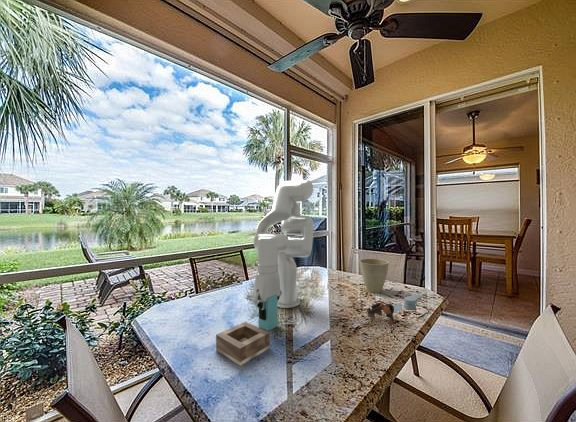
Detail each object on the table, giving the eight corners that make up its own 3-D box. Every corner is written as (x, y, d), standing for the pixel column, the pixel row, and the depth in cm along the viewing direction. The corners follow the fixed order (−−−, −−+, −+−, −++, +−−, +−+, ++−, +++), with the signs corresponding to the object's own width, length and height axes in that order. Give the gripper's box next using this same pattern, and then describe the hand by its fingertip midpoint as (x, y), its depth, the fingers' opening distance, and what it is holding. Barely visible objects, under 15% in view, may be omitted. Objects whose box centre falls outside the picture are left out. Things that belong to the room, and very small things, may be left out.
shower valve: (432, 298, 112) (418, 306, 103) (432, 310, 112) (417, 320, 103) (405, 290, 122) (388, 298, 112) (404, 302, 122) (388, 310, 112)
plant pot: (364, 284, 148) (364, 257, 147) (391, 289, 139) (391, 260, 139) (355, 291, 136) (355, 262, 135) (384, 297, 127) (384, 265, 127)
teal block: (268, 322, 100) (268, 291, 100) (277, 326, 97) (277, 294, 97) (258, 326, 96) (258, 295, 96) (267, 331, 93) (267, 298, 93)
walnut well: (245, 335, 90) (245, 321, 90) (269, 348, 82) (269, 332, 82) (216, 350, 81) (216, 334, 81) (240, 365, 73) (240, 348, 73)
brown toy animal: (388, 331, 94) (376, 310, 95) (370, 332, 101) (359, 313, 103) (405, 315, 100) (393, 295, 102) (387, 317, 108) (377, 299, 110)
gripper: (276, 263, 105) (276, 307, 105) (243, 271, 92) (243, 321, 93) (290, 266, 100) (290, 312, 100) (257, 275, 87) (257, 327, 88)
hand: (267, 316), depth 96 cm, fingers closed on teal block, 5 cm apart
